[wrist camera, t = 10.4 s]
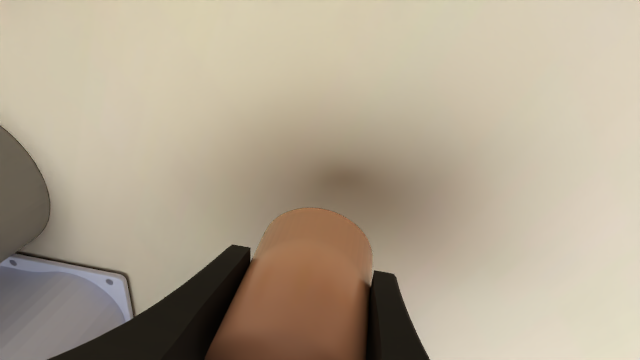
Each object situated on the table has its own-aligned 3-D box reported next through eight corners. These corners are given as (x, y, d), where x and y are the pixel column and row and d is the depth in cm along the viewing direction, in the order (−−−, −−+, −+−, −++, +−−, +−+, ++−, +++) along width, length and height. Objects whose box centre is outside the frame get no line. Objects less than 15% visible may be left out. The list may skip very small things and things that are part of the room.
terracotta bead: (268, 292, 15) (219, 422, 11) (254, 205, 13) (188, 320, 9) (372, 300, 15) (363, 442, 10) (373, 210, 13) (362, 337, 8)
